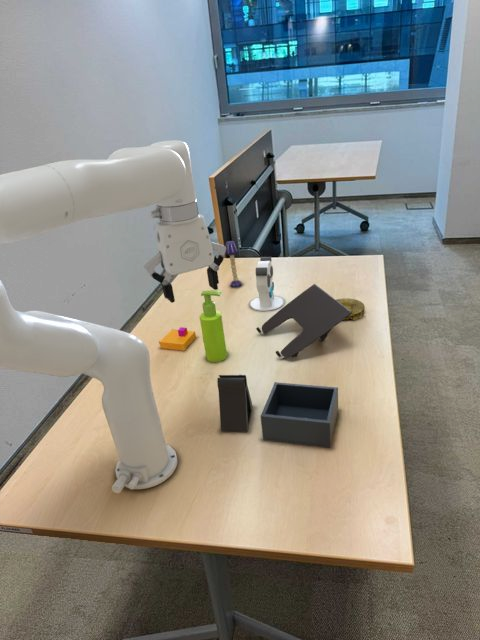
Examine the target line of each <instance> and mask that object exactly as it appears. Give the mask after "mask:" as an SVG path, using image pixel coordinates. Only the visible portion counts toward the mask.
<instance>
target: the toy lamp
mask: <svg viewBox="0 0 480 640" xmlns="http://www.w3.org/2000/svg"><path fill="white" fill-rule="evenodd" d="M225 247H226V251H225V255H228V256H229V260H230V267H231V273H232V279H233V280H232V281H231V283H230V287H231V288H234V289H235V288H240V287H242V285H243V284H242V281H241V280H239V278H238V273H237V266H236V261H235V260H236V258H235V255H236V254H238V252H239V251H238V250H239V249H238V248H237V245H236V242H235V241H234V240H228V241H226V243H225Z"/></svg>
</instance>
